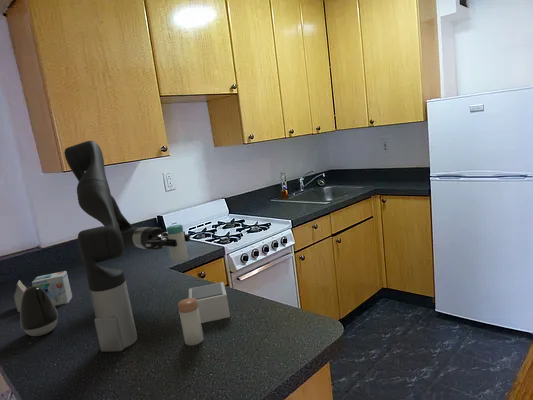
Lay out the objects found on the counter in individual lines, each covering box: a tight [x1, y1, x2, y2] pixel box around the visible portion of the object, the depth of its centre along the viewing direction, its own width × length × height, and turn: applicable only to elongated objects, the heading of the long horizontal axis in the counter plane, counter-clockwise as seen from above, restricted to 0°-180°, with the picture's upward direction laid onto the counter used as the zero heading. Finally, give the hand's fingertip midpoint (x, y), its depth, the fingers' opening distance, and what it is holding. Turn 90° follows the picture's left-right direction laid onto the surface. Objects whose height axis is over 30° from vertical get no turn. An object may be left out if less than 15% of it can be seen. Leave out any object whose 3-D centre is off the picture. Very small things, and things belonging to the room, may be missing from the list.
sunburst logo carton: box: [13, 280, 27, 313], centre depth 146 cm, size 4×7×10 cm, turn 28°
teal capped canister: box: [166, 224, 189, 263], centre depth 126 cm, size 5×5×11 cm
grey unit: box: [188, 281, 231, 324], centre depth 119 cm, size 11×11×7 cm
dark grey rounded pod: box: [19, 285, 59, 337], centre depth 122 cm, size 10×10×15 cm
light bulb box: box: [31, 270, 73, 307], centre depth 146 cm, size 11×7×11 cm, turn 106°
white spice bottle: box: [177, 297, 205, 346], centre depth 103 cm, size 5×5×11 cm
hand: (182, 240), depth 124 cm, fingers closed on teal capped canister, 5 cm apart
